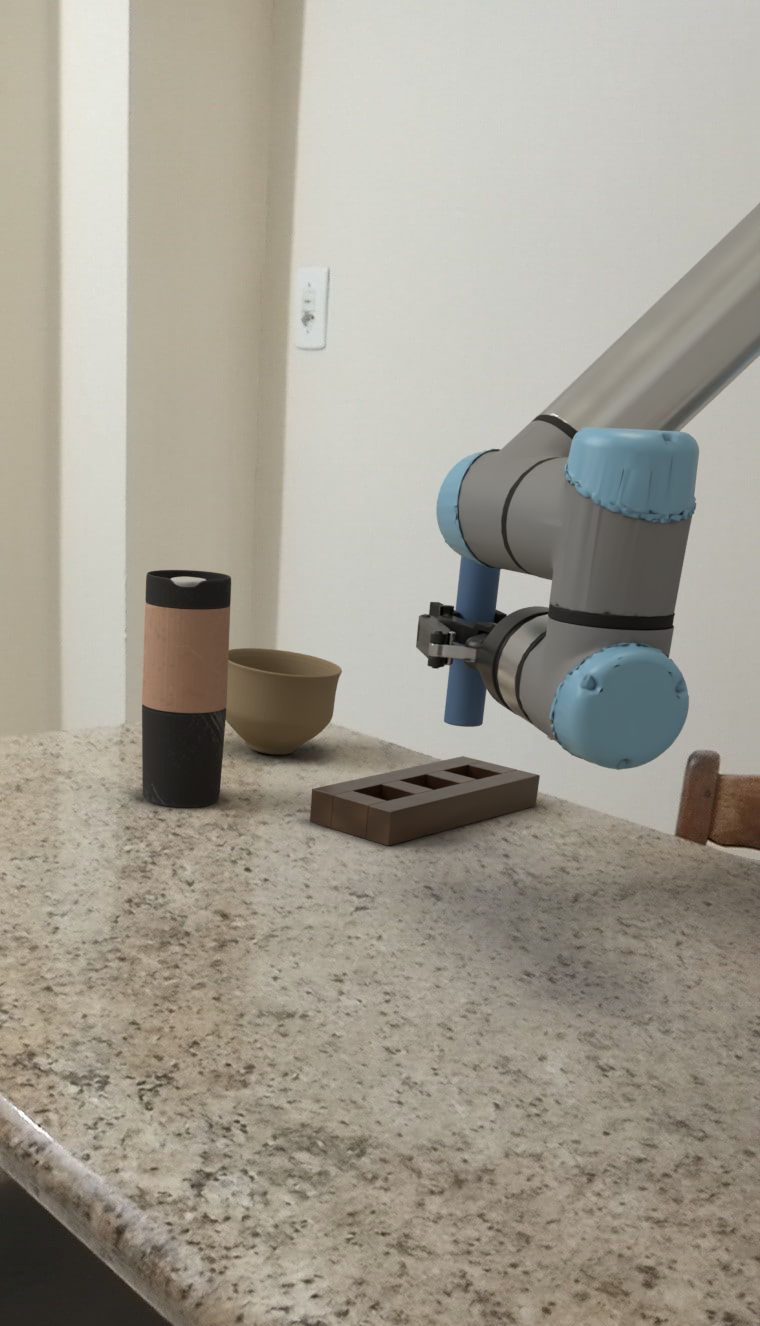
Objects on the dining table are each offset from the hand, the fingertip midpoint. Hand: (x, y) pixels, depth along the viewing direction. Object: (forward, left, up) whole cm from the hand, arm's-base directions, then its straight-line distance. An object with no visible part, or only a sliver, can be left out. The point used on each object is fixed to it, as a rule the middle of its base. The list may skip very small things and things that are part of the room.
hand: (455, 619), depth 117 cm
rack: (+2, -2, -18) cm, 18 cm away
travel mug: (+19, +13, -18) cm, 29 cm away
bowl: (+27, -8, -18) cm, 34 cm away
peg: (-4, +3, -8) cm, 9 cm away
